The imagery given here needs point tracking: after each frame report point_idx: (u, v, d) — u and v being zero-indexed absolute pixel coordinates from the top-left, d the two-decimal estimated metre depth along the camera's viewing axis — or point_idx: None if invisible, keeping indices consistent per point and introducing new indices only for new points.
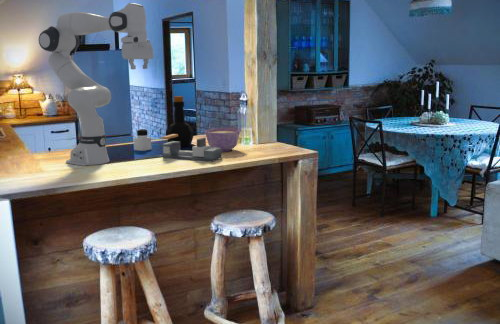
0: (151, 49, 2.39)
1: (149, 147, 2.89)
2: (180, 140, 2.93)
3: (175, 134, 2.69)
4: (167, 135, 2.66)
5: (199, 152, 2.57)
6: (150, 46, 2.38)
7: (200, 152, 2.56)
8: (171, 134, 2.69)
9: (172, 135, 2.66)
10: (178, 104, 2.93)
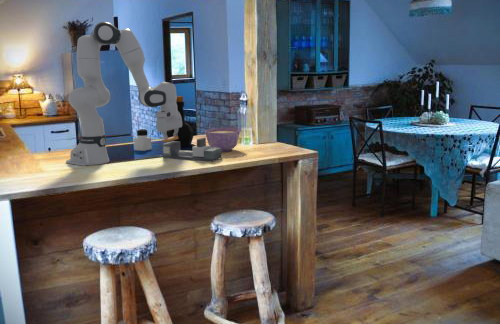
0: (180, 119, 2.71)
1: (149, 147, 2.89)
2: (180, 140, 2.93)
3: (175, 137, 2.69)
4: None
5: (199, 152, 2.57)
6: (180, 116, 2.70)
7: (200, 152, 2.56)
8: (171, 137, 2.70)
9: (172, 138, 2.66)
10: (178, 104, 2.93)
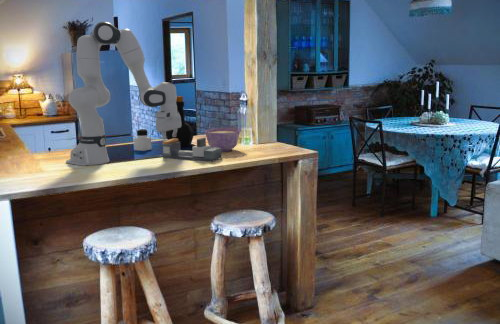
0: (179, 119, 2.71)
1: (149, 147, 2.89)
2: (180, 140, 2.93)
3: (175, 139, 2.70)
4: (167, 140, 2.67)
5: (199, 152, 2.57)
6: (179, 116, 2.70)
7: (200, 152, 2.56)
8: (171, 139, 2.70)
9: (172, 140, 2.66)
10: (178, 104, 2.93)
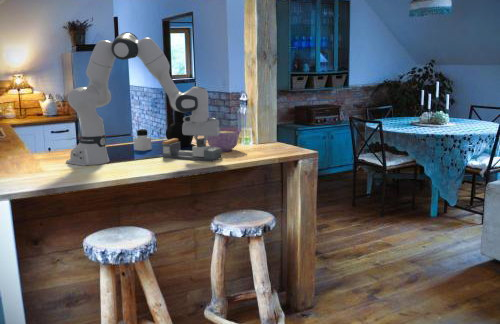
0: (213, 127, 2.53)
1: (149, 147, 2.89)
2: (180, 140, 2.93)
3: (175, 139, 2.70)
4: (167, 140, 2.67)
5: (199, 152, 2.57)
6: (212, 124, 2.53)
7: (200, 152, 2.56)
8: (171, 139, 2.70)
9: (172, 140, 2.66)
10: None
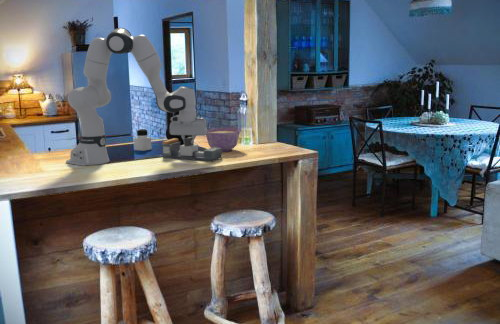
0: (201, 126, 2.57)
1: (149, 147, 2.89)
2: (180, 140, 2.93)
3: (175, 139, 2.70)
4: (167, 140, 2.67)
5: (186, 151, 2.60)
6: (200, 124, 2.56)
7: (188, 151, 2.59)
8: (171, 139, 2.70)
9: (172, 140, 2.66)
10: None
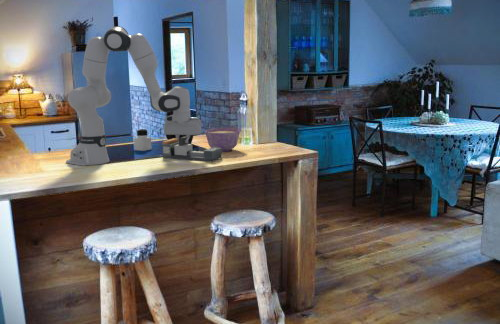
0: (195, 126, 2.58)
1: (149, 147, 2.89)
2: None
3: (175, 139, 2.70)
4: (167, 140, 2.67)
5: (181, 151, 2.61)
6: (195, 123, 2.58)
7: (182, 151, 2.61)
8: (171, 139, 2.70)
9: (172, 140, 2.66)
10: None
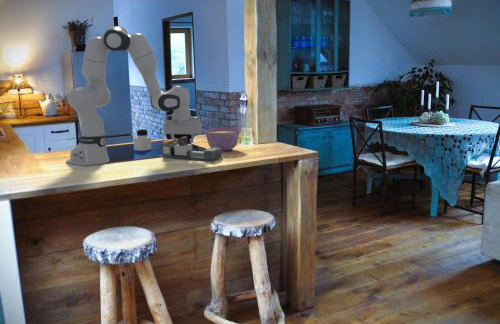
0: (195, 125, 2.58)
1: (149, 147, 2.89)
2: None
3: None
4: (167, 140, 2.67)
5: (181, 151, 2.61)
6: (194, 123, 2.58)
7: (182, 151, 2.61)
8: (171, 139, 2.70)
9: (172, 140, 2.66)
10: None
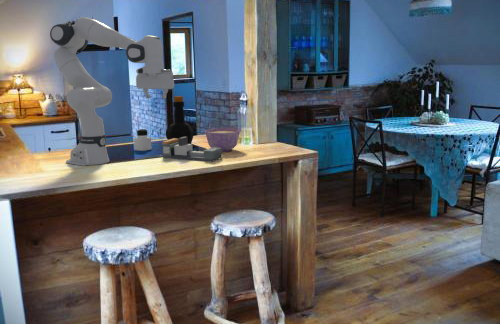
0: (167, 79, 2.36)
1: (149, 147, 2.89)
2: None
3: (175, 139, 2.70)
4: (167, 140, 2.67)
5: (181, 151, 2.61)
6: (166, 76, 2.36)
7: (182, 151, 2.61)
8: (171, 139, 2.70)
9: (172, 140, 2.66)
10: (178, 104, 2.93)
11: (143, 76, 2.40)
